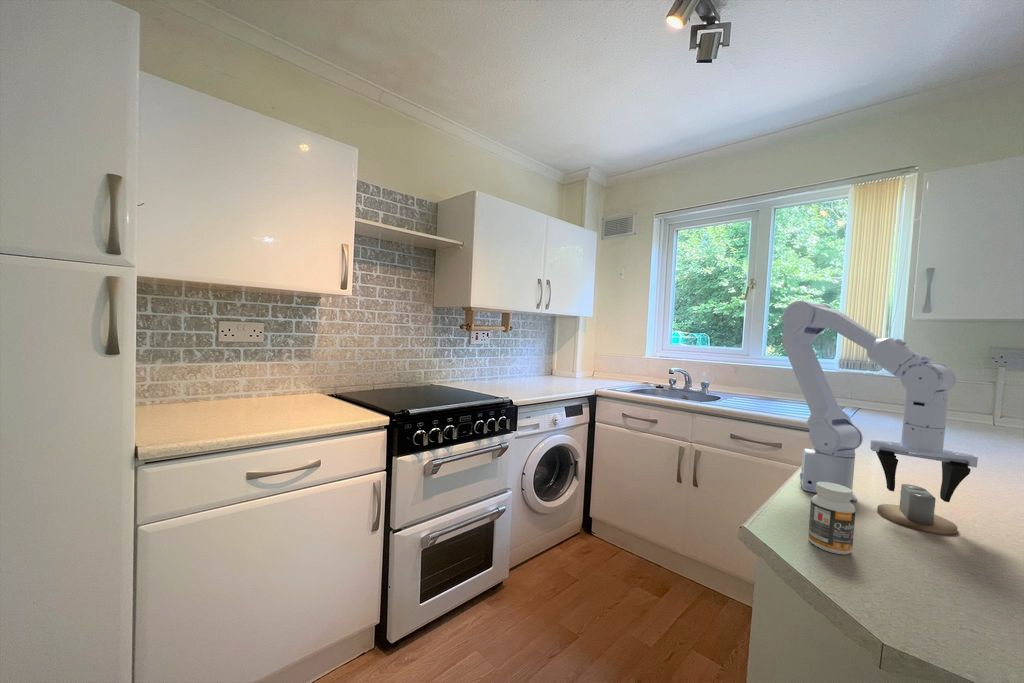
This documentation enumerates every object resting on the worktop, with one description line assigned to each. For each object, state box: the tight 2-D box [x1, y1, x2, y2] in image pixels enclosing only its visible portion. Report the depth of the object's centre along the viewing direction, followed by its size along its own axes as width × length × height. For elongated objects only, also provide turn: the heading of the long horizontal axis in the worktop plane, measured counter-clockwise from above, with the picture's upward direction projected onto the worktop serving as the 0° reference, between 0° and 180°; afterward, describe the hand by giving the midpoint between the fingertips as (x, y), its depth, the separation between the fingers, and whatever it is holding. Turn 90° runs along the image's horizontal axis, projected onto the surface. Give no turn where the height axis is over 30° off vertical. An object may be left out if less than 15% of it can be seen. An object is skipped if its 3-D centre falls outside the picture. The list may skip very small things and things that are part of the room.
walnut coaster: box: [876, 503, 958, 536], centre depth 79 cm, size 11×11×1 cm
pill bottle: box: [807, 482, 856, 555], centre depth 66 cm, size 6×6×10 cm
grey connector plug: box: [899, 483, 936, 526], centre depth 79 cm, size 11×4×5 cm, turn 148°
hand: (916, 494), depth 79 cm, fingers open, 7 cm apart
